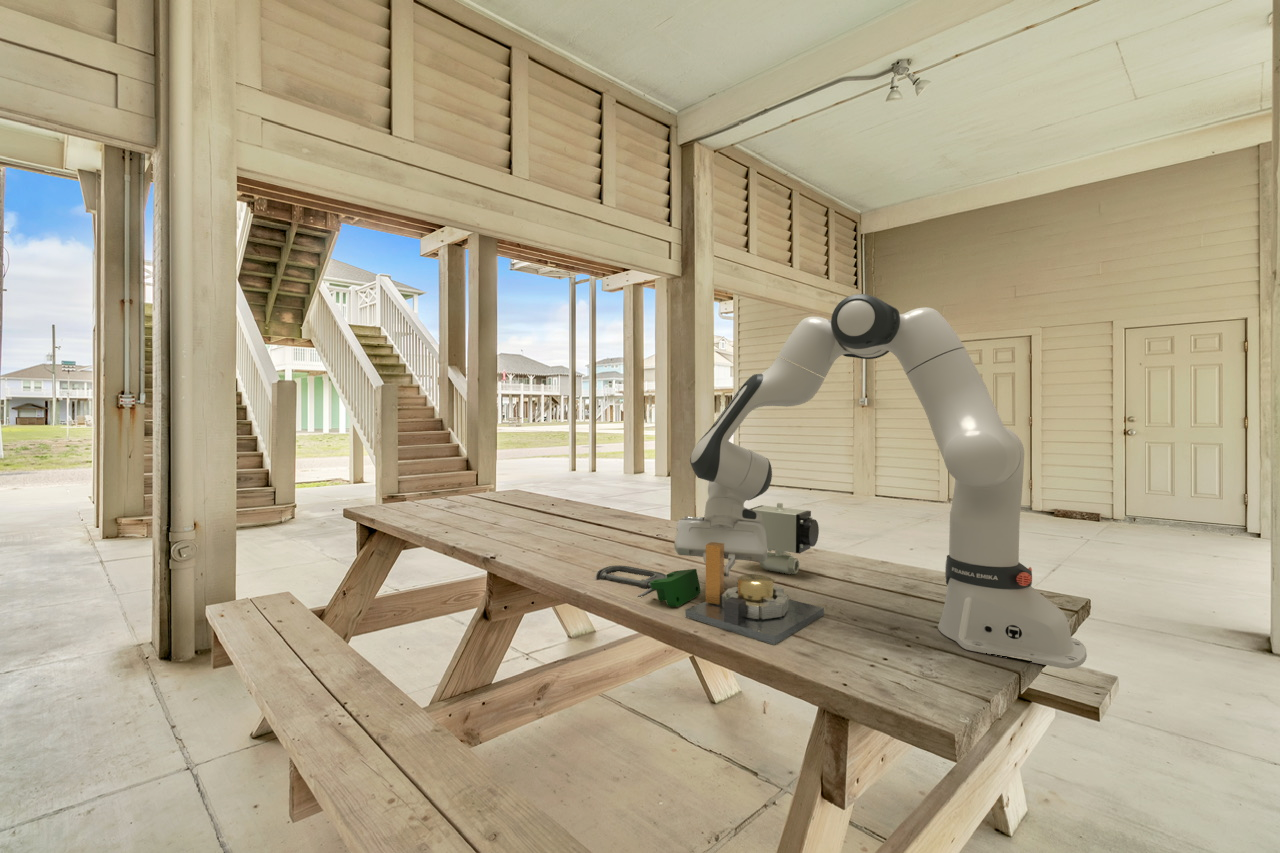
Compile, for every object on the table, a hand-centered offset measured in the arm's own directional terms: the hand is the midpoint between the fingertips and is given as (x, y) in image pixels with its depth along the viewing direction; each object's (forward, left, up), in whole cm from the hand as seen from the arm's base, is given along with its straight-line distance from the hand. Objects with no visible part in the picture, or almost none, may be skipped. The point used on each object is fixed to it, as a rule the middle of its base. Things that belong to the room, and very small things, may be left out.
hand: (717, 574), depth 122 cm
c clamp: (+26, -1, -8) cm, 27 cm away
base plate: (-9, 0, -7) cm, 11 cm away
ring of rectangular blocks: (-7, 0, -5) cm, 9 cm away
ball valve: (+3, -32, -7) cm, 33 cm away
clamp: (+9, +3, -7) cm, 12 cm away
